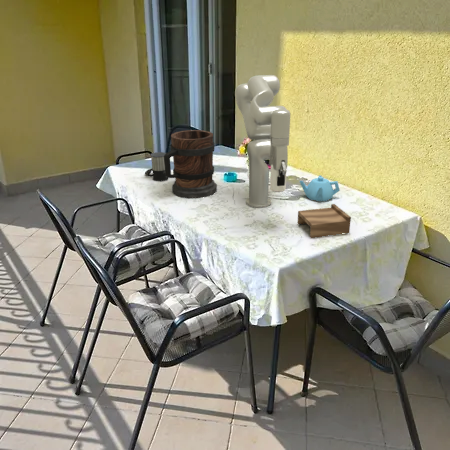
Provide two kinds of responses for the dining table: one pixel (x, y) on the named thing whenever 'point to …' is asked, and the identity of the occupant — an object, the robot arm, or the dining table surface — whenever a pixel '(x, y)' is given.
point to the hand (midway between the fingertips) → (277, 182)
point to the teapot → (320, 189)
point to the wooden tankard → (191, 164)
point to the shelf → (325, 221)
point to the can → (274, 181)
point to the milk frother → (157, 167)
